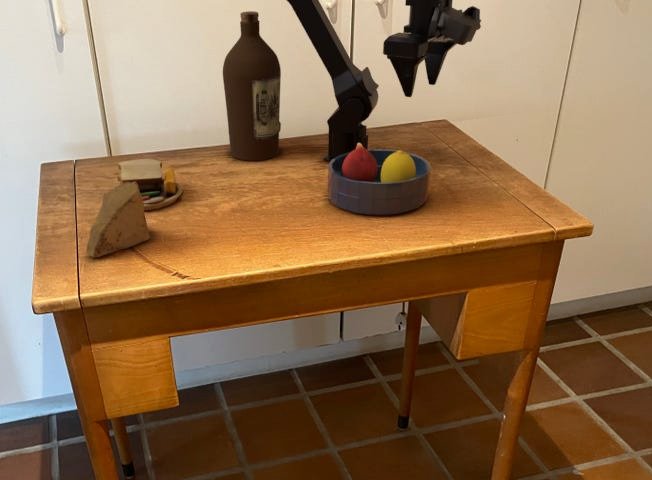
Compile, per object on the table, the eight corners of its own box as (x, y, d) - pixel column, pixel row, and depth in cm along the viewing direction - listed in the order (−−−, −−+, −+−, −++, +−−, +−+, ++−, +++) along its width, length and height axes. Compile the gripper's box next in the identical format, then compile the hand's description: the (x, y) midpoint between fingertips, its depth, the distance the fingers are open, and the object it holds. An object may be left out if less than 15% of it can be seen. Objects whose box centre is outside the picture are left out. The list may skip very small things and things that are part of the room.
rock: (84, 254, 102) (154, 235, 103) (67, 196, 103) (136, 177, 104) (93, 268, 113) (156, 250, 114) (77, 215, 113) (140, 198, 114)
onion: (379, 186, 125) (382, 139, 120) (372, 198, 120) (375, 150, 116) (345, 183, 126) (347, 136, 122) (337, 195, 122) (339, 147, 117)
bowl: (309, 204, 120) (309, 171, 117) (358, 174, 131) (359, 143, 128) (398, 225, 112) (401, 191, 109) (443, 191, 123) (446, 159, 120)
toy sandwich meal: (104, 214, 120) (100, 186, 117) (114, 184, 131) (111, 158, 128) (181, 210, 120) (178, 182, 117) (184, 181, 131) (182, 155, 129)
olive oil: (216, 154, 143) (206, 14, 129) (255, 141, 149) (250, 5, 135) (254, 166, 136) (248, 20, 122) (293, 152, 142) (292, 11, 128)
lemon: (413, 206, 117) (417, 156, 112) (378, 204, 118) (381, 155, 113) (414, 193, 121) (418, 145, 117) (380, 191, 122) (383, 144, 118)
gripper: (451, 2, 108) (440, 110, 117) (499, -15, 120) (486, 84, 129) (384, -2, 114) (378, 101, 122) (436, -18, 126) (427, 77, 135)
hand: (420, 90), depth 127 cm, fingers open, 9 cm apart
